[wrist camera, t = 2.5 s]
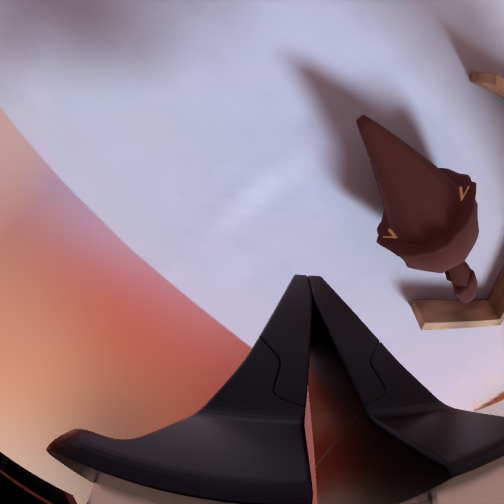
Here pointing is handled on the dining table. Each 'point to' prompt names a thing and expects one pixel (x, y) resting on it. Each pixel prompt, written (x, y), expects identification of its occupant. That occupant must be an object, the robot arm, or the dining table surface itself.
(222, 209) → the dining table surface
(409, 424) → the robot arm
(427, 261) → the icecream
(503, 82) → the holder
